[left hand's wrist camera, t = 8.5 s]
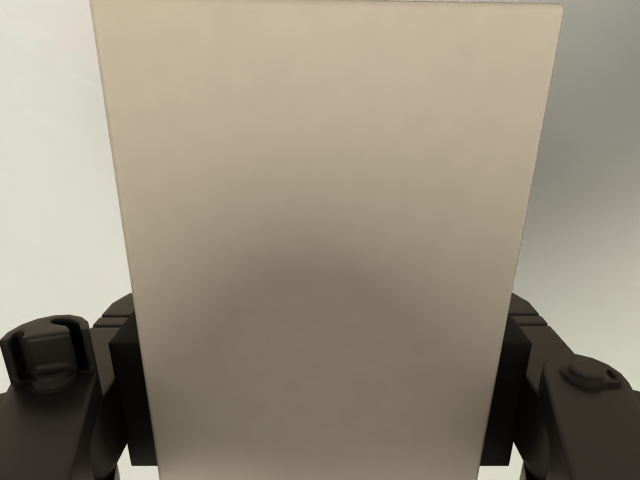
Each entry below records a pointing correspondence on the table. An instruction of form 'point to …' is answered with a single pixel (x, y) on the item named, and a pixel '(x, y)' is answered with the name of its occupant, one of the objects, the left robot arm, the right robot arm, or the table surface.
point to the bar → (322, 224)
